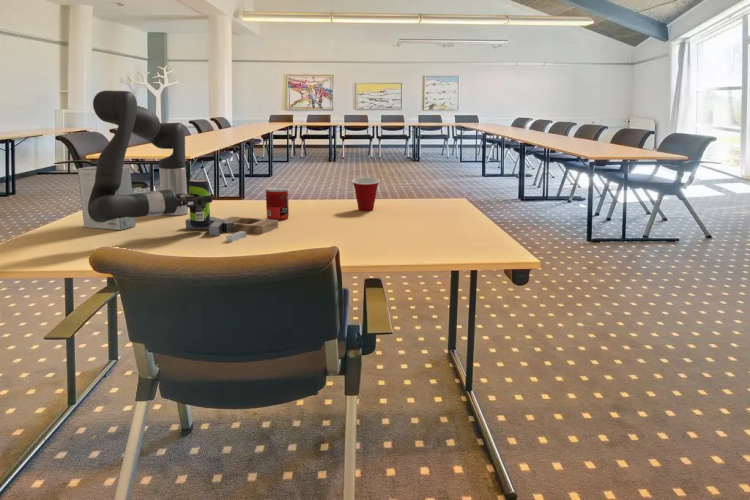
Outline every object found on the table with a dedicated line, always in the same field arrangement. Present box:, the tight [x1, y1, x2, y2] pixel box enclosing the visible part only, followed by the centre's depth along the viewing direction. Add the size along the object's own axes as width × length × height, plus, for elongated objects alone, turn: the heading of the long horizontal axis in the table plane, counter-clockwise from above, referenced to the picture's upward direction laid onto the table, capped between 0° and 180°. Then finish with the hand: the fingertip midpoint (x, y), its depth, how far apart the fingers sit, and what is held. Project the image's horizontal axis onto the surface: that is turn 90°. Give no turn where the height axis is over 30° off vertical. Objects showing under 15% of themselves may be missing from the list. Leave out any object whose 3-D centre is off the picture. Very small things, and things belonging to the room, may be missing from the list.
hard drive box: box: [77, 166, 136, 231], centre depth 210 cm, size 16×8×20 cm, turn 71°
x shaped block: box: [185, 216, 234, 237], centre depth 208 cm, size 10×18×3 cm, turn 46°
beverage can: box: [188, 178, 211, 227], centre depth 203 cm, size 6×6×15 cm
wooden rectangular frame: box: [223, 215, 279, 235], centre depth 211 cm, size 18×11×2 cm, turn 72°
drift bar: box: [225, 231, 247, 243], centre depth 196 cm, size 8×2×2 cm, turn 159°
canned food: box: [265, 186, 290, 222], centre depth 227 cm, size 8×8×11 cm
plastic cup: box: [351, 177, 381, 212], centre depth 246 cm, size 11×11×12 cm
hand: (205, 197), depth 205 cm, fingers closed on beverage can, 6 cm apart
